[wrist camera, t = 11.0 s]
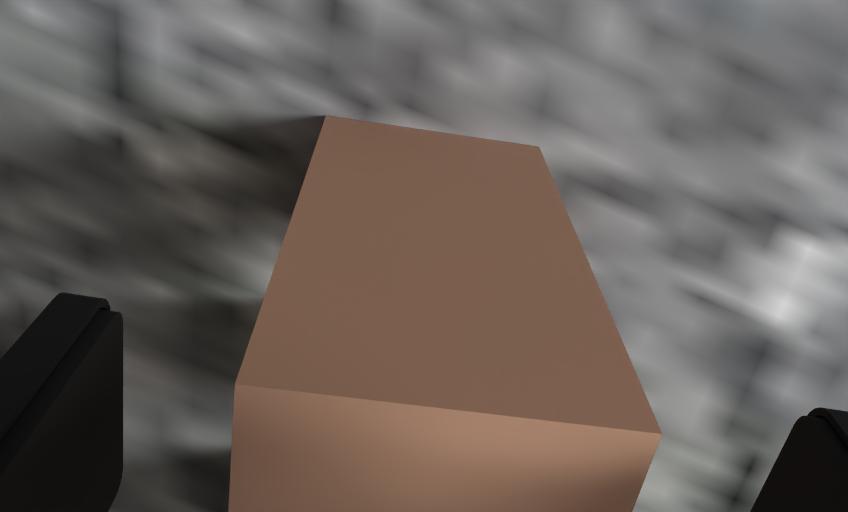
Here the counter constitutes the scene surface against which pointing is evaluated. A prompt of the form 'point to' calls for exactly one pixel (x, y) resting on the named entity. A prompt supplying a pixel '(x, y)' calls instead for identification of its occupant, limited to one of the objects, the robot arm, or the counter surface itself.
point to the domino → (434, 342)
